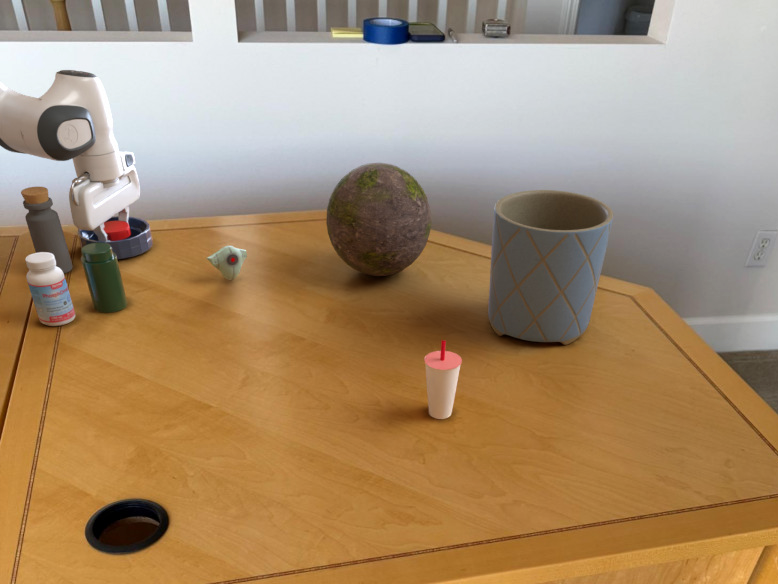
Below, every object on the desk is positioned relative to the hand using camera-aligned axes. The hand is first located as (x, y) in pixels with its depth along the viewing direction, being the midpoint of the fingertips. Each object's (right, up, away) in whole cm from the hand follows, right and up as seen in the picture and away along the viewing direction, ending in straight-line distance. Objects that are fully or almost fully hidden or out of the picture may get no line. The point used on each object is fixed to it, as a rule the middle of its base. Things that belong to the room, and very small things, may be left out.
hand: (115, 236), depth 159 cm
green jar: (+6, -20, -18) cm, 27 cm away
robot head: (+26, -12, -9) cm, 30 cm away
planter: (+83, -24, -21) cm, 89 cm away
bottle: (-9, -9, -7) cm, 14 cm away
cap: (0, +1, -1) cm, 2 cm away
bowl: (0, -2, +2) cm, 2 cm away
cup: (+65, -43, -43) cm, 89 cm away
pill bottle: (-2, -23, -22) cm, 32 cm away
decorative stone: (+55, -9, -5) cm, 56 cm away
